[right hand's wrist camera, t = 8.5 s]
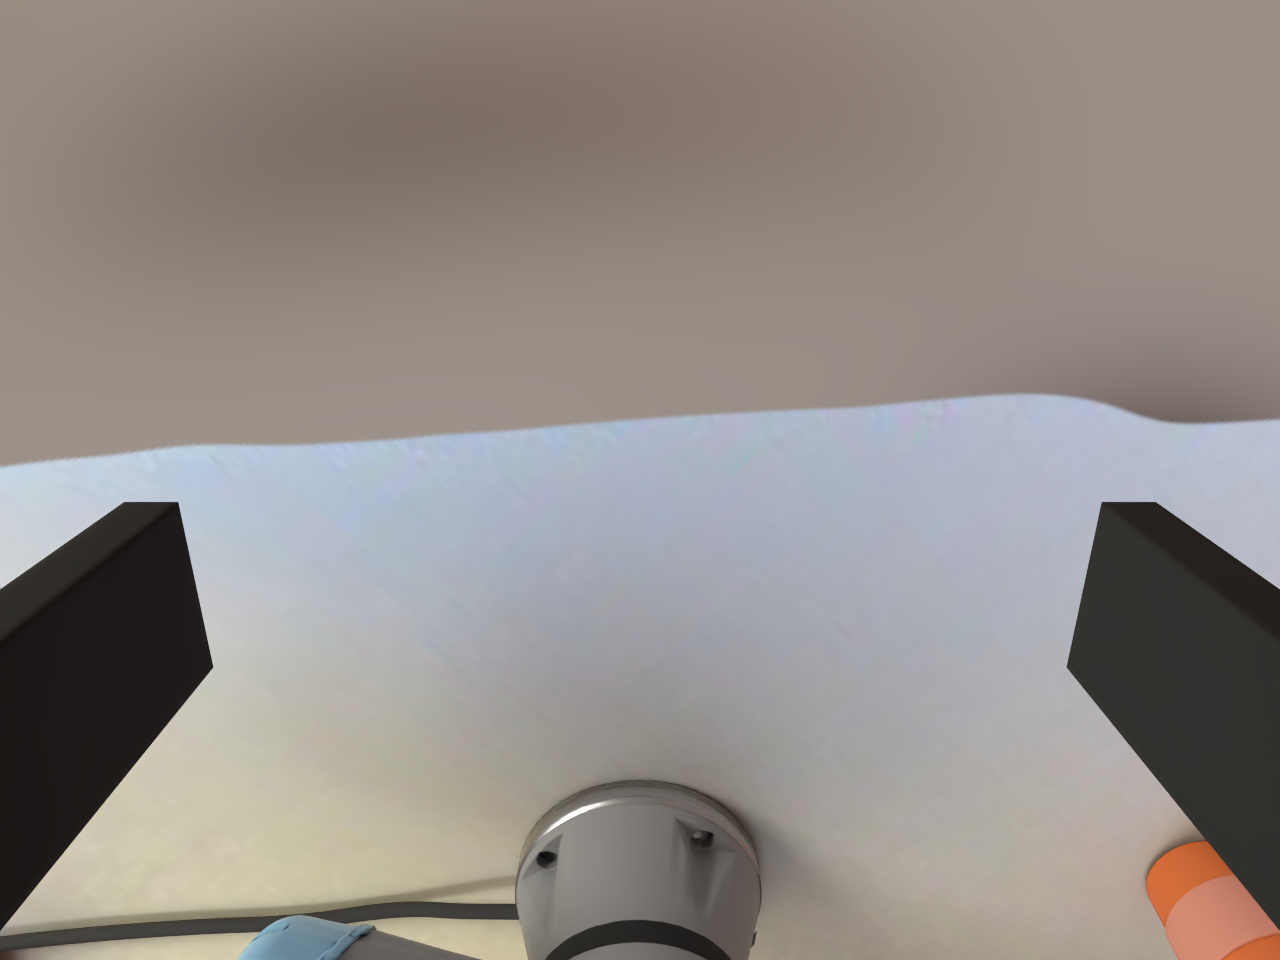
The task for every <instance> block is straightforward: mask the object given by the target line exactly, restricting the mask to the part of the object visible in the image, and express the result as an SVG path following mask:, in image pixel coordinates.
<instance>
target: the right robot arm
mask: <svg viewBox="0 0 1280 960" xmlns="http://www.w3.org/2000/svg"><path fill="white" fill-rule="evenodd" d="M212 668H213V664H212V659H211V654H210V650H209V645H208V640H207V635H206V631H205V626H204V621H203V617H202V612H201V607H200V603H199V598H198V593H197V588H196V584H195V579H194V574H193V570H192V565H191V560H190V556H189V551H188V546H187V541H186V537H185V532H184V527H183V523H182V518H181V513H180V509H179V504H178V502H124V503H122V504H121V505H119V506H118V507H117V508H115V509H114V510H112V511H111V512H110V513H108V514H107V515H105V516H104V517H102V518H101V519H100V520H98V521H97V522H95V523H94V524H93V525H91V526H90V527H88V528H87V529H85V530H84V531H83V532H81V533H80V534H78V535H77V536H75V537H74V538H73V539H71V540H70V541H68V542H67V543H66V544H64V545H63V546H61V547H60V548H58V549H57V550H56V551H54V552H53V553H51V554H50V555H48V556H47V557H46V558H44V559H43V560H41V561H40V562H39V563H37V564H36V565H34V566H33V567H31V568H30V569H29V570H27V571H26V572H24V573H23V574H21V575H20V576H19V577H17V578H16V579H14V580H13V581H12V582H10V583H9V584H7V585H6V586H4V587H3V588H2V589H0V931H1V929H2V928H3V927H4V926H5V924H6V923H7V922H8V921H9V919H10V918H11V917H12V916H13V915H14V913H15V912H16V911H17V910H18V908H19V907H20V906H21V905H22V903H23V902H24V901H25V900H26V898H27V897H28V896H29V895H30V893H31V892H32V891H33V890H34V889H35V887H36V886H37V885H38V884H39V882H40V881H41V880H42V879H43V877H44V876H45V875H46V874H47V872H48V871H49V870H50V869H51V867H52V866H53V865H54V864H55V863H56V861H57V860H58V859H59V858H60V856H61V855H62V854H63V853H64V851H65V850H66V849H67V848H68V846H69V845H70V844H71V843H72V842H73V840H74V839H75V838H76V837H77V835H78V834H79V833H80V832H81V830H82V829H83V828H84V827H85V825H86V824H87V823H88V822H89V820H90V819H91V818H92V817H93V816H94V814H95V813H96V812H97V811H98V809H99V808H100V807H101V806H102V804H103V803H104V802H105V801H106V799H107V798H108V797H109V796H110V794H111V793H112V792H113V791H114V790H115V788H116V787H117V786H118V785H119V783H120V782H121V781H122V780H123V778H124V777H125V776H126V775H127V773H128V772H129V771H130V770H131V768H132V767H133V766H134V765H135V764H136V762H137V761H138V760H139V759H140V757H141V756H142V755H143V754H144V752H145V751H146V750H147V749H148V747H149V746H150V745H151V744H152V742H153V741H154V740H155V739H156V738H157V736H158V735H159V734H160V733H161V731H162V730H163V729H164V728H165V726H166V725H167V724H168V723H169V721H170V720H171V719H172V718H173V716H174V715H175V714H176V713H177V712H178V710H179V709H180V708H181V707H182V705H183V704H184V703H185V702H186V700H187V699H188V698H189V697H190V695H191V694H192V693H193V692H194V690H195V689H196V688H197V687H198V686H199V684H200V683H201V682H202V681H203V679H204V678H205V677H206V676H207V674H208V673H209V672H210V671H211V669H212ZM1067 668H1068V669H1069V671H1070V672H1071V673H1072V674H1073V676H1074V677H1075V678H1076V679H1077V681H1078V682H1079V683H1080V684H1081V686H1082V687H1083V688H1084V689H1085V690H1086V692H1087V693H1088V694H1089V695H1090V697H1091V698H1092V699H1093V700H1094V702H1095V703H1096V704H1097V705H1098V707H1099V708H1100V709H1101V710H1102V712H1103V713H1104V714H1105V715H1106V716H1107V718H1108V719H1109V720H1110V721H1111V723H1112V724H1113V725H1114V726H1115V728H1116V729H1117V730H1118V731H1119V733H1120V734H1121V735H1122V736H1123V738H1124V739H1125V740H1126V741H1127V742H1128V744H1129V745H1130V746H1131V747H1132V749H1133V750H1134V751H1135V752H1136V754H1137V755H1138V756H1139V757H1140V759H1141V760H1142V761H1143V762H1144V764H1145V765H1146V766H1147V767H1148V768H1149V770H1150V771H1151V772H1152V773H1153V775H1154V776H1155V777H1156V778H1157V780H1158V781H1159V782H1160V783H1161V785H1162V786H1163V787H1164V788H1165V790H1166V791H1167V792H1168V793H1169V794H1170V796H1171V797H1172V798H1173V799H1174V801H1175V802H1176V803H1177V804H1178V806H1179V807H1180V808H1181V809H1182V811H1183V812H1184V813H1185V814H1186V816H1187V817H1188V818H1189V819H1190V820H1191V822H1192V823H1193V824H1194V825H1195V827H1196V828H1197V829H1198V830H1199V832H1200V833H1201V834H1202V835H1203V837H1204V838H1205V839H1206V840H1207V841H1208V843H1209V844H1210V845H1211V846H1212V848H1213V849H1214V850H1215V851H1216V853H1217V854H1218V855H1219V856H1220V858H1221V859H1222V860H1223V861H1224V863H1225V864H1226V865H1227V866H1228V867H1229V869H1230V870H1231V871H1232V872H1233V874H1234V875H1235V876H1236V877H1237V879H1238V880H1239V881H1240V882H1241V884H1242V885H1243V886H1244V887H1245V889H1246V890H1247V891H1248V892H1249V893H1250V895H1251V896H1252V897H1253V898H1254V900H1255V901H1256V902H1257V903H1258V905H1259V906H1260V907H1261V908H1262V910H1263V911H1264V912H1265V913H1266V915H1267V916H1268V917H1269V918H1270V919H1271V921H1272V922H1273V923H1274V924H1275V926H1276V927H1277V928H1278V929H1279V931H1280V589H1278V588H1277V587H1276V586H1274V585H1273V584H1271V583H1270V582H1268V581H1267V580H1266V579H1264V578H1263V577H1261V576H1260V575H1259V574H1257V573H1256V572H1254V571H1253V570H1251V569H1250V568H1249V567H1247V566H1246V565H1244V564H1243V563H1241V562H1240V561H1239V560H1237V559H1236V558H1234V557H1233V556H1232V555H1230V554H1229V553H1227V552H1226V551H1224V550H1223V549H1222V548H1220V547H1219V546H1217V545H1216V544H1214V543H1213V542H1212V541H1210V540H1209V539H1207V538H1206V537H1205V536H1203V535H1202V534H1200V533H1199V532H1197V531H1196V530H1195V529H1193V528H1192V527H1190V526H1189V525H1187V524H1186V523H1185V522H1183V521H1182V520H1180V519H1179V518H1178V517H1176V516H1175V515H1173V514H1172V513H1170V512H1169V511H1168V510H1166V509H1165V508H1163V507H1162V506H1161V505H1159V504H1158V503H1156V502H1102V504H1101V509H1100V513H1099V518H1098V523H1097V527H1096V532H1095V537H1094V541H1093V546H1092V551H1091V556H1090V560H1089V565H1088V570H1087V574H1086V579H1085V584H1084V588H1083V593H1082V598H1081V603H1080V607H1079V612H1078V617H1077V621H1076V626H1075V631H1074V635H1073V640H1072V645H1071V650H1070V654H1069V659H1068V664H1067ZM515 901H516V904H461V903H441V902H395V903H384V904H374V905H367V906H359V907H352V908H346V909H339V910H332V911H325V912H317V913H307V914H296V915H283V916H266V917H242V918H216V919H196V920H180V921H164V922H149V923H135V924H121V925H109V926H97V927H86V928H75V929H65V930H55V931H45V932H36V933H27V934H18V935H10V936H2V937H0V952H1V951H9V950H18V949H26V948H35V947H45V946H55V945H65V944H75V943H86V942H98V941H109V940H122V939H135V938H150V937H165V936H181V935H198V934H219V933H246V932H260V933H259V934H258V935H257V936H256V937H255V938H254V939H253V940H252V942H251V943H250V944H249V945H248V946H247V947H246V949H245V950H244V951H243V952H242V953H241V955H240V956H239V957H238V959H237V960H480V959H476V958H473V957H469V956H465V955H461V954H458V953H454V952H450V951H446V950H443V949H439V948H436V947H432V946H429V945H425V944H422V943H418V942H415V941H411V940H408V939H405V938H401V937H398V936H394V935H391V934H387V933H384V932H380V931H377V930H376V928H375V927H374V926H372V925H370V924H364V925H360V926H354V925H349V924H347V923H354V922H361V921H368V920H376V919H386V918H399V917H435V918H451V919H505V920H520V924H521V929H522V933H523V938H524V942H525V947H526V951H527V956H528V960H748V957H749V953H750V948H751V947H752V946H753V945H754V942H755V937H756V933H757V931H756V932H755V933H754V931H755V926H756V922H757V918H758V914H759V911H760V905H761V883H760V877H759V870H758V864H757V859H756V854H755V851H754V848H753V845H752V843H751V841H750V839H749V837H748V835H747V833H746V832H745V830H744V829H743V827H742V826H741V825H740V823H739V822H738V821H737V820H736V819H735V818H734V817H733V816H732V815H731V814H730V813H729V812H728V811H727V810H726V809H724V808H723V807H722V806H721V805H719V804H718V803H716V802H715V801H713V800H711V799H710V798H708V797H706V796H704V795H702V794H700V793H698V792H695V791H693V790H690V789H687V788H684V787H681V786H678V785H673V784H669V783H664V782H657V781H644V780H635V781H620V782H613V783H607V784H603V785H599V786H595V787H592V788H589V789H586V790H584V791H581V792H579V793H577V794H575V795H572V796H570V797H569V798H567V799H565V800H563V801H562V802H560V803H559V804H557V805H556V806H555V807H553V808H552V809H551V810H550V811H549V812H547V813H546V814H545V815H544V816H543V817H542V818H541V819H540V820H539V821H538V823H537V824H536V825H535V827H534V828H533V829H532V831H531V832H530V834H529V836H528V837H527V839H526V842H525V844H524V846H523V849H522V853H521V856H520V862H519V868H518V874H517V881H516V887H515Z"/></svg>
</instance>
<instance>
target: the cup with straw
mask: <svg viewBox="0 0 1280 960" xmlns="http://www.w3.org/2000/svg"><path fill="white" fill-rule="evenodd" d="M1146 890H1147V894H1148V897H1149V899H1150V901H1151V903H1152V905H1153V907H1154V909H1155V911H1156V912H1157V914H1158V916H1159V918H1160V920H1161V922H1162V924H1163V925H1164V927H1165V929H1166V935H1167V939H1168V941H1169V943H1170V945H1171V947H1172V949H1173V951H1174V953H1175V954H1176V956H1177V958H1178V960H1280V931H1279V929H1278V928H1277V927H1276V926H1275V924H1274V923H1273V922H1272V921H1271V919H1270V918H1269V917H1268V916H1267V915H1266V913H1265V912H1264V911H1263V910H1262V908H1261V907H1260V906H1259V905H1258V903H1257V902H1256V901H1255V900H1254V898H1253V897H1252V896H1251V895H1250V893H1249V892H1248V891H1247V890H1246V889H1245V887H1244V886H1243V885H1242V884H1241V882H1240V881H1239V880H1238V879H1237V877H1236V876H1235V875H1234V874H1233V872H1232V871H1231V870H1230V869H1229V867H1228V866H1227V865H1226V864H1225V863H1224V861H1223V860H1222V859H1221V858H1220V856H1219V855H1218V854H1217V853H1216V851H1215V850H1214V849H1213V848H1212V846H1211V845H1210V844H1209V843H1208V841H1198V842H1192V843H1188V844H1184V845H1182V846H1179V847H1177V848H1175V849H1173V850H1171V851H1169V852H1168V853H1166V854H1165V855H1163V856H1162V857H1161V858H1160V859H1159V860H1158V861H1157V862H1156V863H1155V864H1154V866H1153V867H1152V868H1151V870H1150V872H1149V874H1148V877H1147V882H1146Z"/></svg>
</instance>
